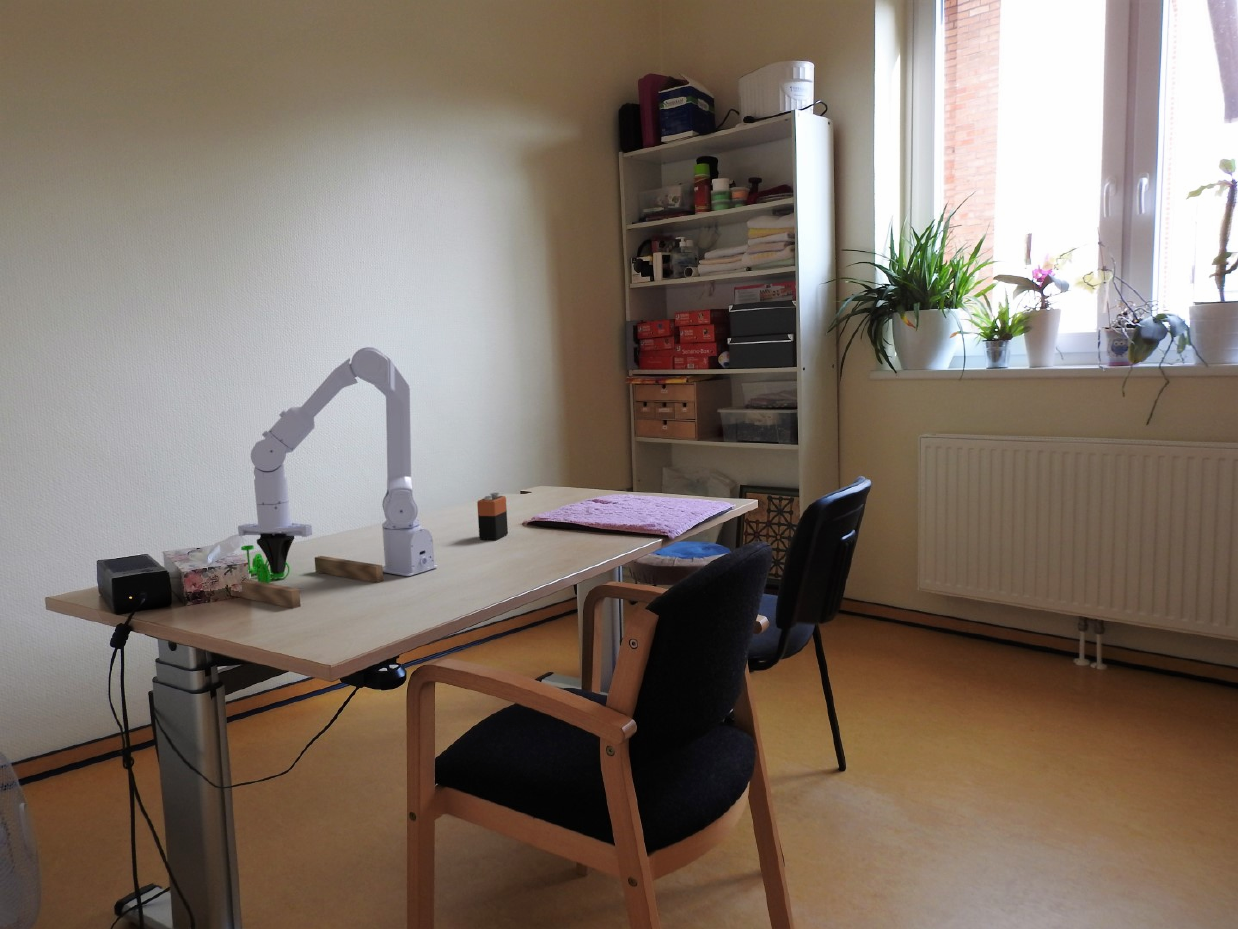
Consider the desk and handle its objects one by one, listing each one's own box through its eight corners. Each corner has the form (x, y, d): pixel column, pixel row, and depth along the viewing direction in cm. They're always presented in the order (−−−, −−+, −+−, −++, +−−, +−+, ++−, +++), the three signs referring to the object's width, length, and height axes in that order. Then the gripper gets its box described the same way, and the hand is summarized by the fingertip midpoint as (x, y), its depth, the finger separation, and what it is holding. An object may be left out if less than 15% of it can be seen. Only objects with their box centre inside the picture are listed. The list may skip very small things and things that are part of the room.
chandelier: (300, 570, 182) (297, 536, 181) (278, 589, 168) (275, 553, 167) (224, 574, 181) (221, 540, 180) (195, 594, 166) (192, 557, 165)
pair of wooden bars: (383, 580, 170) (382, 565, 170) (293, 608, 154) (291, 591, 153) (321, 570, 180) (320, 555, 180) (230, 595, 164) (229, 579, 163)
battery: (508, 534, 209) (506, 492, 207) (496, 541, 202) (493, 497, 201) (491, 534, 210) (489, 491, 209) (478, 540, 204) (476, 496, 202)
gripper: (318, 498, 172) (324, 568, 174) (251, 498, 175) (257, 566, 177) (297, 505, 165) (303, 577, 167) (228, 505, 169) (235, 575, 170)
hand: (278, 572), depth 172 cm, fingers closed
